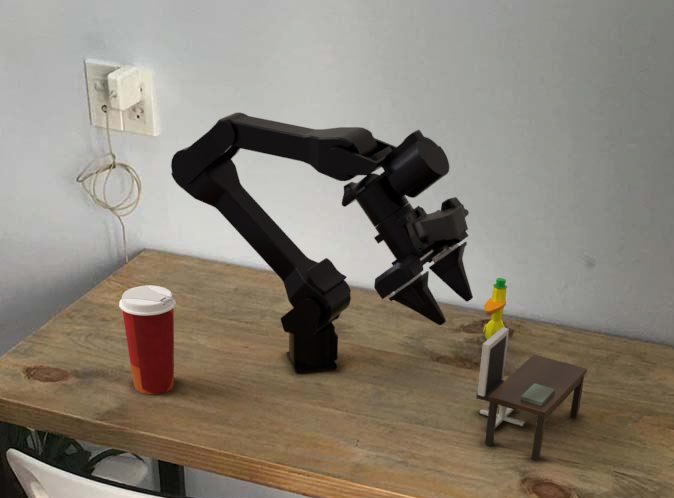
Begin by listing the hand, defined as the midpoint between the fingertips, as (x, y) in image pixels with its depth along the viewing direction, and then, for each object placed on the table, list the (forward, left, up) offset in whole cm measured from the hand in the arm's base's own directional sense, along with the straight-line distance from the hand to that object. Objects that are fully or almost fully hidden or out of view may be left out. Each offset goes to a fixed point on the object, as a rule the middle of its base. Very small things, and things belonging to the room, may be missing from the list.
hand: (456, 311), depth 153 cm
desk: (+8, -11, -14) cm, 19 cm away
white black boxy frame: (+5, -7, -14) cm, 16 cm away
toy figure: (+12, +13, -14) cm, 22 cm away
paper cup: (-40, +14, -14) cm, 45 cm away
